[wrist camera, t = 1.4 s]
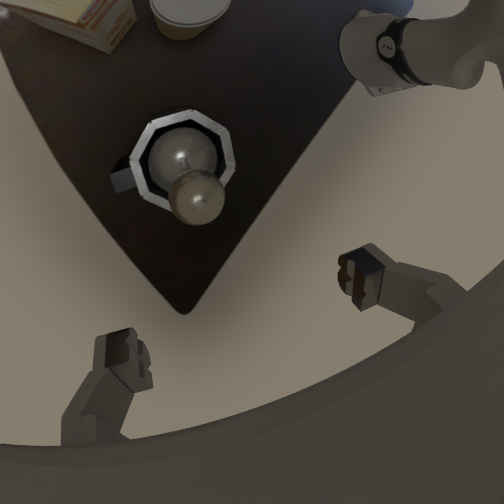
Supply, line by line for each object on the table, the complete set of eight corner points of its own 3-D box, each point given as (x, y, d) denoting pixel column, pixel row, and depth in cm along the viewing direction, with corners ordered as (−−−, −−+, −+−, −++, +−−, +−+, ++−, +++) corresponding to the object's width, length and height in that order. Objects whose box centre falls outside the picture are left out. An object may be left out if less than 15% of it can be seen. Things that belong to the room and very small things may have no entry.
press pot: (203, 100, 37) (223, 100, 26) (218, 166, 43) (242, 194, 32) (114, 127, 35) (94, 140, 23) (135, 192, 41) (128, 231, 30)
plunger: (208, 119, 28) (246, 136, 16) (221, 181, 32) (264, 238, 20) (140, 139, 26) (125, 171, 15) (159, 200, 31) (164, 271, 19)
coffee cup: (182, -15, 25) (192, -48, 15) (226, 17, 30) (250, -8, 21) (138, 24, 27) (131, -1, 17) (183, 56, 32) (192, 40, 23)
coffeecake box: (139, 19, 27) (127, -35, 11) (110, 56, 28) (74, 26, 13) (68, -9, 19) (25, -56, 3) (41, 27, 21) (-19, 0, 5)
